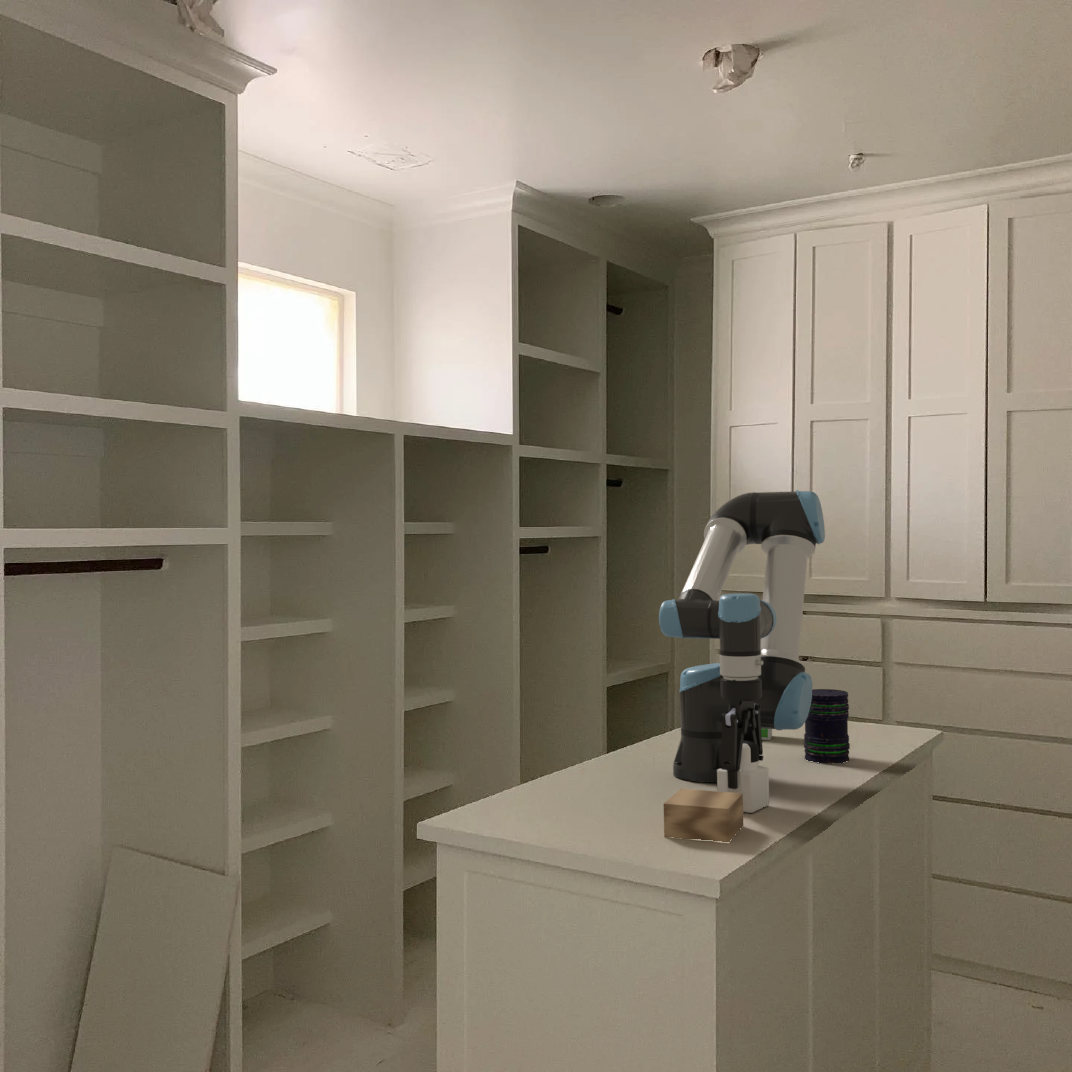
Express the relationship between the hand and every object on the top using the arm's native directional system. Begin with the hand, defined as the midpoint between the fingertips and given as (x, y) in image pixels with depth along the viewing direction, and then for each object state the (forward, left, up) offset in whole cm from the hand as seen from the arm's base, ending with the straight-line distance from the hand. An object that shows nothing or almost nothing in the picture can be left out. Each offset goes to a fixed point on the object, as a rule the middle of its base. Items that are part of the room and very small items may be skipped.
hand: (743, 800), depth 199 cm
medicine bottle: (0, 0, -1) cm, 1 cm away
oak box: (0, -18, -2) cm, 18 cm away
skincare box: (-22, +65, -2) cm, 68 cm away
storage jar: (+1, +48, -2) cm, 48 cm away
